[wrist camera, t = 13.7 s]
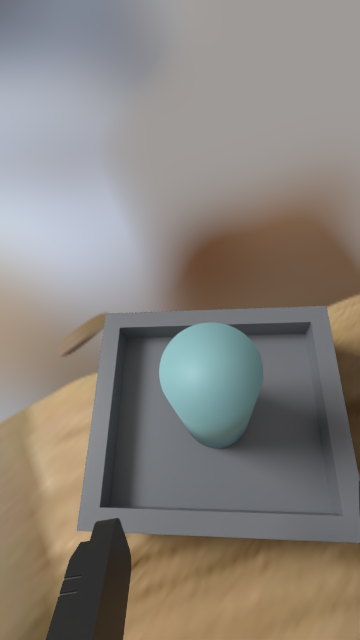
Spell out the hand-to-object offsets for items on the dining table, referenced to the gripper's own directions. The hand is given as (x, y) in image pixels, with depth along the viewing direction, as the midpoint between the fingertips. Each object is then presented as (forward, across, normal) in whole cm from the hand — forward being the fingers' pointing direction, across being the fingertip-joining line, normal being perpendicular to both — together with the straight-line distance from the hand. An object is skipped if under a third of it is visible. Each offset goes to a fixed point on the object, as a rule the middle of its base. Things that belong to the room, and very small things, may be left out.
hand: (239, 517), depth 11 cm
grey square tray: (+15, 0, +7) cm, 16 cm away
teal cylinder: (+11, 0, +4) cm, 12 cm away
